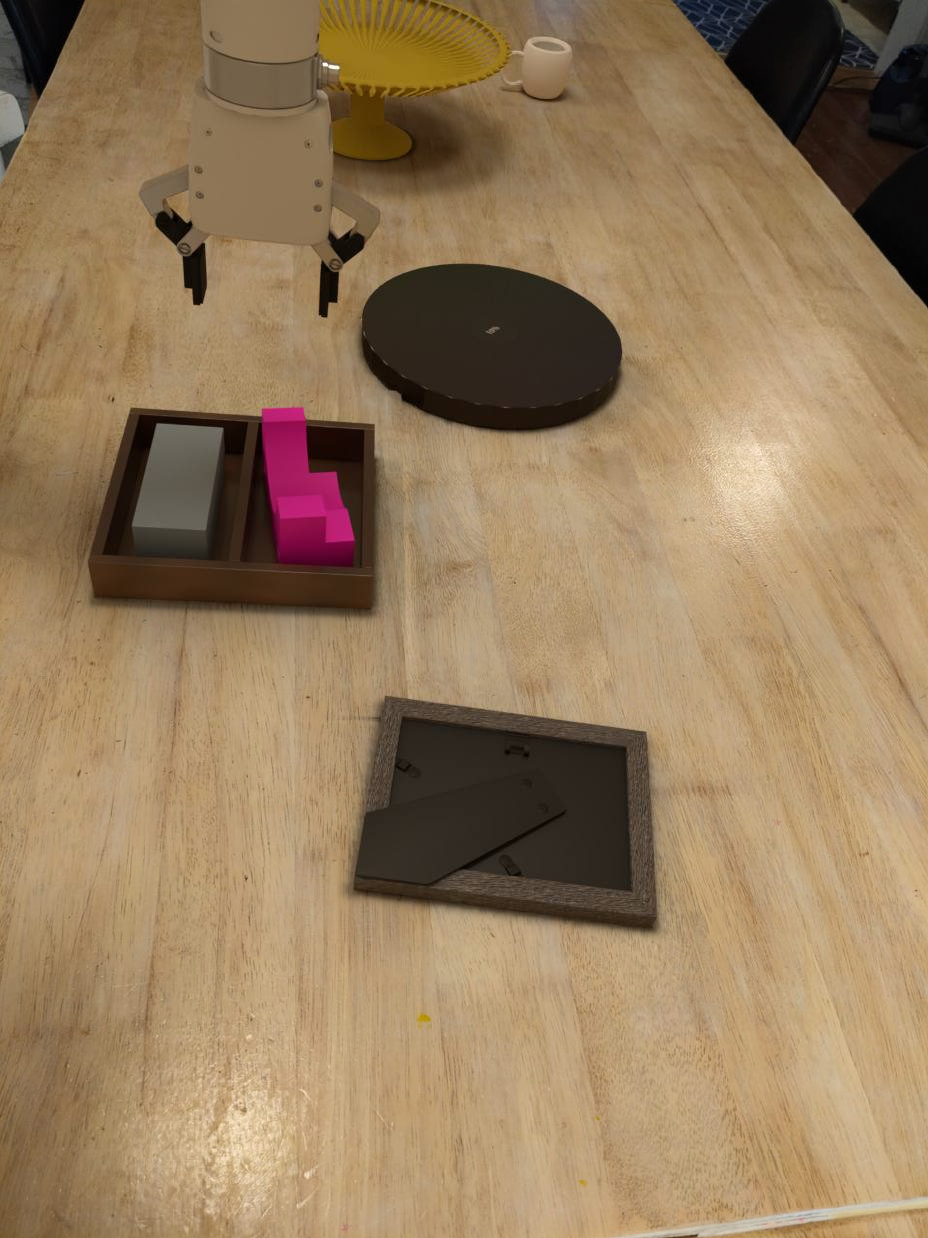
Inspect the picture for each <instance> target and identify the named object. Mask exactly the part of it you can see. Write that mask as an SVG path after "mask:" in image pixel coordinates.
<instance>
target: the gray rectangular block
mask: <svg viewBox="0 0 928 1238" xmlns="http://www.w3.org/2000/svg"><path fill="white" fill-rule="evenodd" d="M225 472H226V463H225V446H224V429H223V428H219V427H204V426H189V425H174V424H159V423H157V425H156V429H155V433H154V437H153V441H152V445H151V449H150V454H149V458H148V462H147V466H146V470H145V474H144V478H143V482H142V486H141V490H140V494H139V498H138V502H137V507H136V511H135V515H134V519H133V523H132V531H133V538H134V544H135V551H136V557H154V558H174V559H194V560H211V558H212V552H213V546H214V540H215V534H216V528H217V521H218V515H219V509H220V503H221V497H222V491H223V484H224V478H225Z"/></svg>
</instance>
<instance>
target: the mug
mask: <svg viewBox="0 0 928 1238" xmlns="http://www.w3.org/2000/svg"><path fill="white" fill-rule="evenodd" d="M510 51H511V52H513V53H512V54H510V55H509V56H511V57H513V56H518V57H521V60H520V79H518V80H516V81H509V80H508V79H507V78H506V74H505V68H506V67H504V68H502V69H501V70H503V71H501V72H499V77H500V80H501V82H502V83H503V84H504V85H505V86H507V87H513V88H514V87H518V86H519V85H522V88H523V90H524V92H525V93H526V94H527V95H529V96H530V97H533V98H537V99H541V100H553V99H557V98H558V97H559V96H560V95H561V94H562V93H563V91H564V90H565V88H566V85H567V83H568V80H569V78H570V74H571V70H572V64H573V48H572V46H571V45H570V44H568V43H567V42H566V41H563V40H562V39H559V38H556V37H551V36H534V37H531V38H528V39H527V41H526V43H525V44H524V47H523V50H522V51H521V50H518V49H517V50H510ZM505 65H506V66H507V64H505Z"/></svg>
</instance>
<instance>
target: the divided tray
mask: <svg viewBox="0 0 928 1238" xmlns="http://www.w3.org/2000/svg"><path fill="white" fill-rule="evenodd" d="M157 423H159V424H174V425H189V426H204V427H219V428H223V429H224V446H225V463H226V472H225V478H224V484H223V491H222V497H221V503H220V509H219V515H218V521H217V528H216V534H215V540H214V546H213V552H212V558H211V560H194V559H174V558H154V557H136V551H135V544H134V538H133V531H132V523H133V519H134V515H135V511H136V507H137V502H138V498H139V494H140V490H141V486H142V482H143V478H144V474H145V470H146V466H147V462H148V458H149V454H150V449H151V445H152V441H153V437H154V433H155V429H156V425H157ZM375 434H376V423H366V422H354V421H353V422H351V421H336V420H324V419H323V420H322V419H307V418H306V440H307V456H308V467H309V473H323V472H336V473H337V481H338V487H339V492H340V496H341V500H342V503H343V506H344V508H345V509H347V510H348V514H349V518H350V523H351V527H352V531H353V535H354V540H355V544H354V560H353V567H334V566H314V565H294V564H278V562H277V555H276V549H275V543H274V537H273V530H272V524H271V518H270V512H269V506H268V499H267V493H266V487H265V481H264V474H263V442H262V415H248V414H234V413H220V412H219V413H216V412H205V411H191V410H190V411H189V410H175V409H159V408H146V407H130V408H129V411H128V416H127V419H126V423H125V426H124V430H123V434H122V437H121V441H120V444H119V448H118V450H117V451H118V452H117V454H116V459H115V462H114V466H113V469H112V473H111V476H110V480H109V484H108V487H107V491H106V494H105V498H104V501H103V505H102V509H101V512H100V516H99V519H98V523H97V527H96V530H95V533H94V538H93V541H92V544H91V548H90V552H89V555H88V560H87V566H88V572H89V577H90V581H91V586H92V592H93V596H94V598H100V599H101V598H106V599H123V600H124V599H127V600H147V601H148V600H149V601H151V600H152V601H170V602H171V601H172V602H193V603H215V604H234V605H235V604H237V605H260V606H281V607H282V606H283V607H301V608H303V607H305V608H324V609H325V608H326V609H347V610H348V609H350V610H370V611H371V610H372V599H373V589H374V587H373V586H374V573H375V572H374V568H375V567H374V565H375V564H374V563H375V561H374V560H375V559H374V557H375V553H374V552H375V457H376V454H375V443H376V440H375V439H376V438H375V437H376V435H375Z"/></svg>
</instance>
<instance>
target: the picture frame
mask: <svg viewBox="0 0 928 1238" xmlns="http://www.w3.org/2000/svg"><path fill="white" fill-rule="evenodd" d="M380 716H381V717H380V722H379V729H378V735H377V740H376V746H375V753H374V759H373V765H372V771H371V777H370V783H369V788H368V794H367V801H366V806H365V811H364V812H365V813H364V819H363V825H362V831H361V836H360V842H359V848H358V853H357V854H358V855H357V860H356V866H355V872H354V878H353V889H354V890H360V891H367V892H368V891H369V892H375V893H376V892H377V893H383V894H392V895H398V896H407V897H415V898H421V899H422V898H423V899H430V900H437V901H445V902H453V903H461V904H467V905H475V906H482V907H483V906H484V907H490V908H498V909H504V910H513V911H522V912H529V913H536V914H545V915H552V916H561V917H568V918H575V919H582V920H590V921H599V922H605V923H606V922H607V923H612V924H620V925H621V924H622V925H629V926H636V927H642V928H643V927H644V928H652V927H653V925H654V924H655V922H656V920H657V918H658V906H657V890H656V888H657V887H656V872H655V855H654V853H655V852H654V838H653V835H654V834H653V819H652V802H651V785H650V770H649V769H650V768H649V751H648V749H649V748H648V733H647V731H646V730H645V731H643V730H638V729H632V728H624V727H617V726H608V725H601V724H595V723H587V722H580V721H572V720H565V719H560V718H559V719H558V718H551V717H543V716H536V715H528V714H521V713H516V712H515V713H514V712H506V711H499V710H494V709H493V710H492V709H485V708H478V707H471V706H464V705H457V704H450V703H441V702H434V701H427V700H421V699H413V698H406V697H399V696H391V695H384V699H383V703H382V710H381V715H380Z"/></svg>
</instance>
